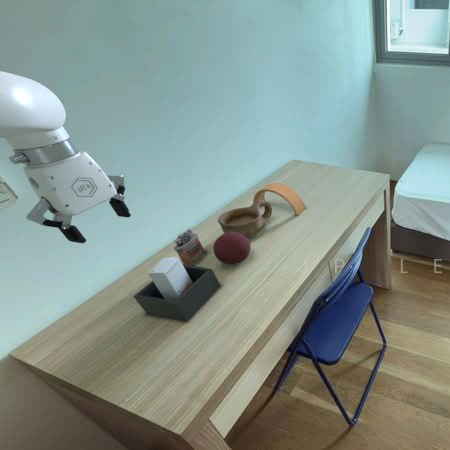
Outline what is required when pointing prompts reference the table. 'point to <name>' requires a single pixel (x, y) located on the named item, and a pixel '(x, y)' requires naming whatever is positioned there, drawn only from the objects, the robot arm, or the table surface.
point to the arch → (283, 192)
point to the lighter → (189, 248)
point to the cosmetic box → (170, 278)
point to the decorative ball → (232, 248)
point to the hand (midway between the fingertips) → (103, 228)
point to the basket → (187, 302)
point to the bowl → (246, 219)
